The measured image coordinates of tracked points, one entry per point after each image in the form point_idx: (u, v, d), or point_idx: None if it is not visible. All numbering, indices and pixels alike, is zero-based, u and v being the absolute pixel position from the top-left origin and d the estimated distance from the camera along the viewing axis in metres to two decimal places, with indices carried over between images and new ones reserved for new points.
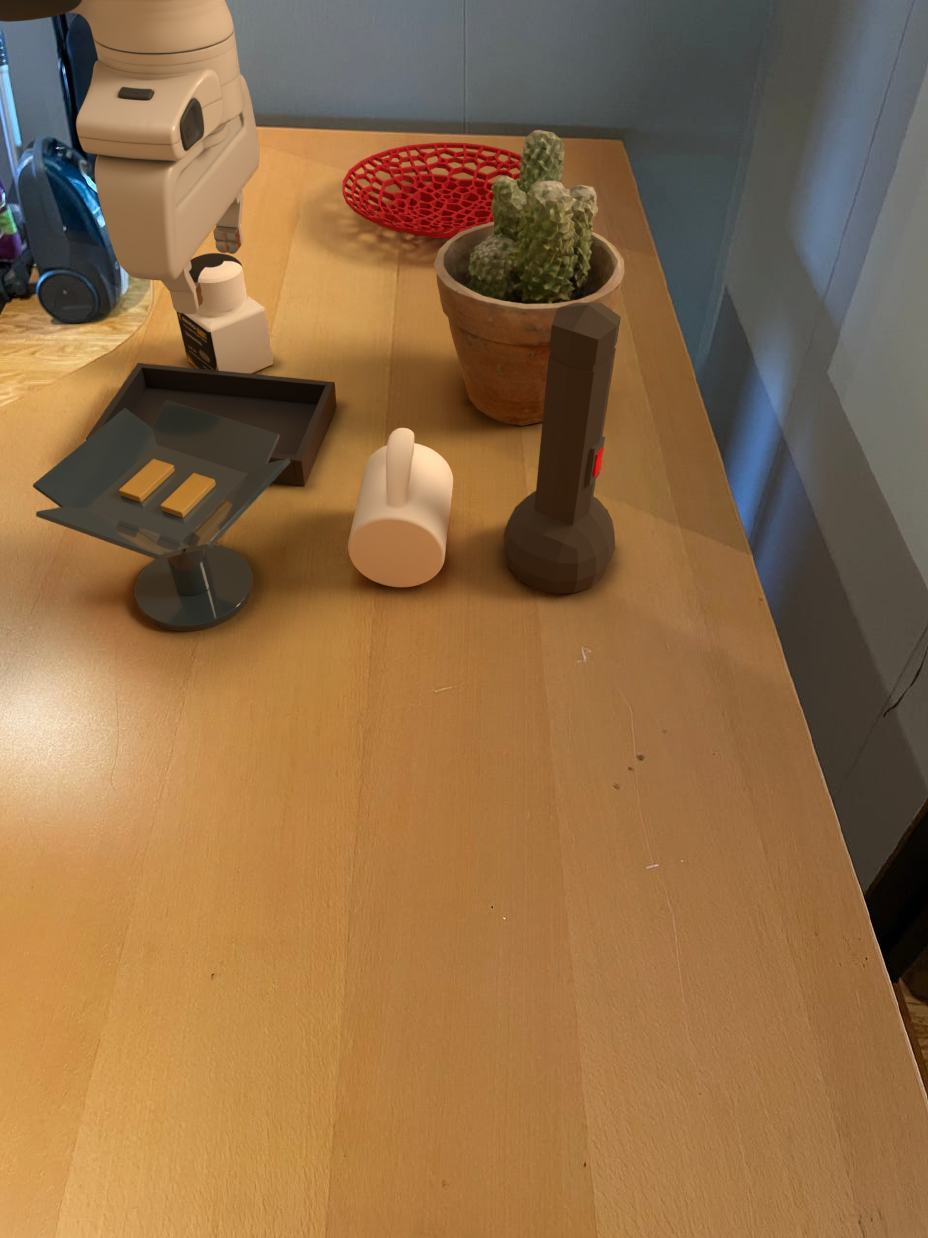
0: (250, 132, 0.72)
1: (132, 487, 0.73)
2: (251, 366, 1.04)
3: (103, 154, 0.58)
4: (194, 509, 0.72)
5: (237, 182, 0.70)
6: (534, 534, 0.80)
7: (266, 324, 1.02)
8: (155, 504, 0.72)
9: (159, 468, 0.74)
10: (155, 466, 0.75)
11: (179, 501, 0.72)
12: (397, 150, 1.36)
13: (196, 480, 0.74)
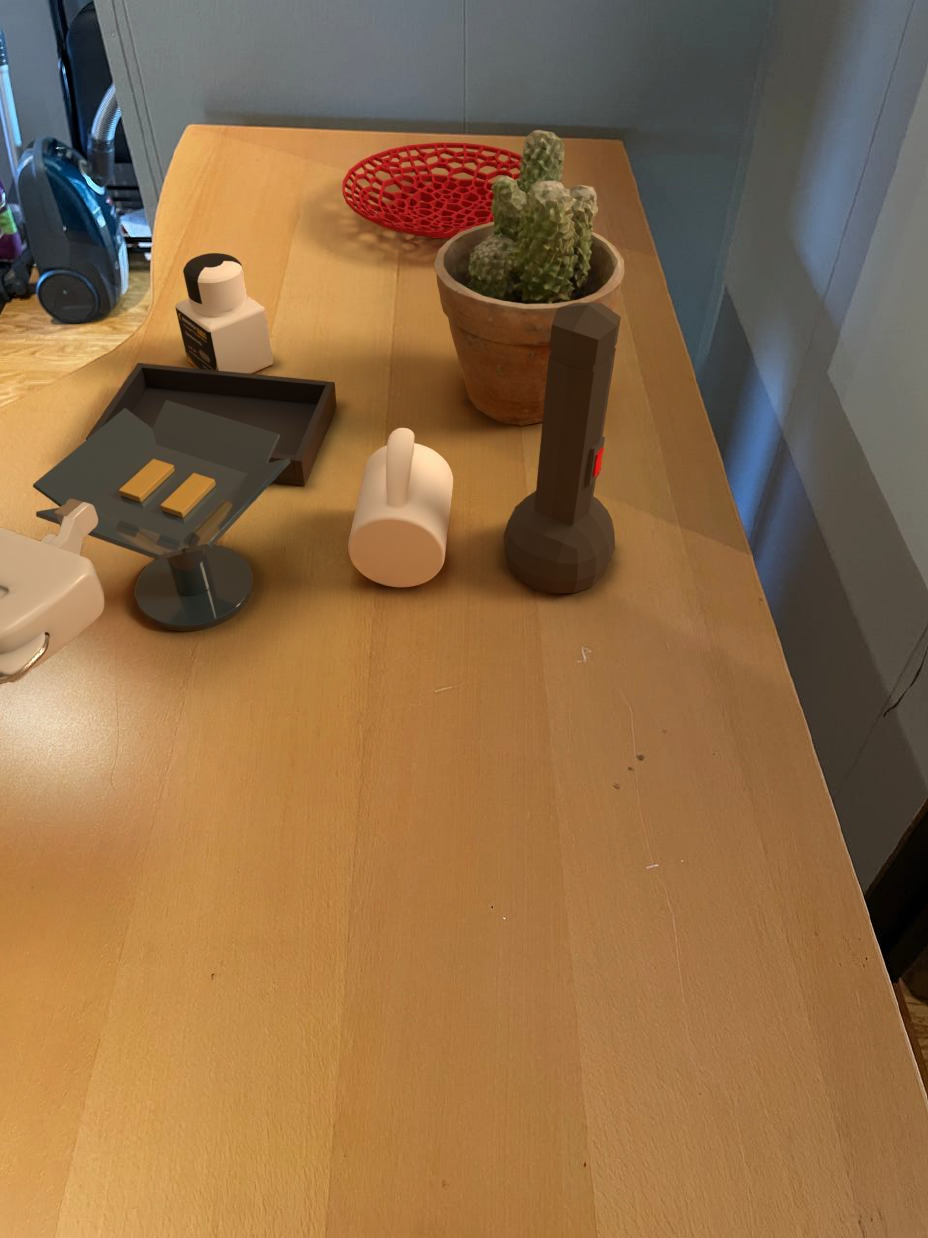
0: None
1: (132, 487, 0.73)
2: (251, 366, 1.04)
3: None
4: (194, 509, 0.72)
5: None
6: (534, 534, 0.80)
7: (266, 324, 1.02)
8: (155, 504, 0.72)
9: (159, 468, 0.74)
10: (155, 466, 0.75)
11: (179, 501, 0.72)
12: (397, 150, 1.36)
13: (196, 480, 0.74)
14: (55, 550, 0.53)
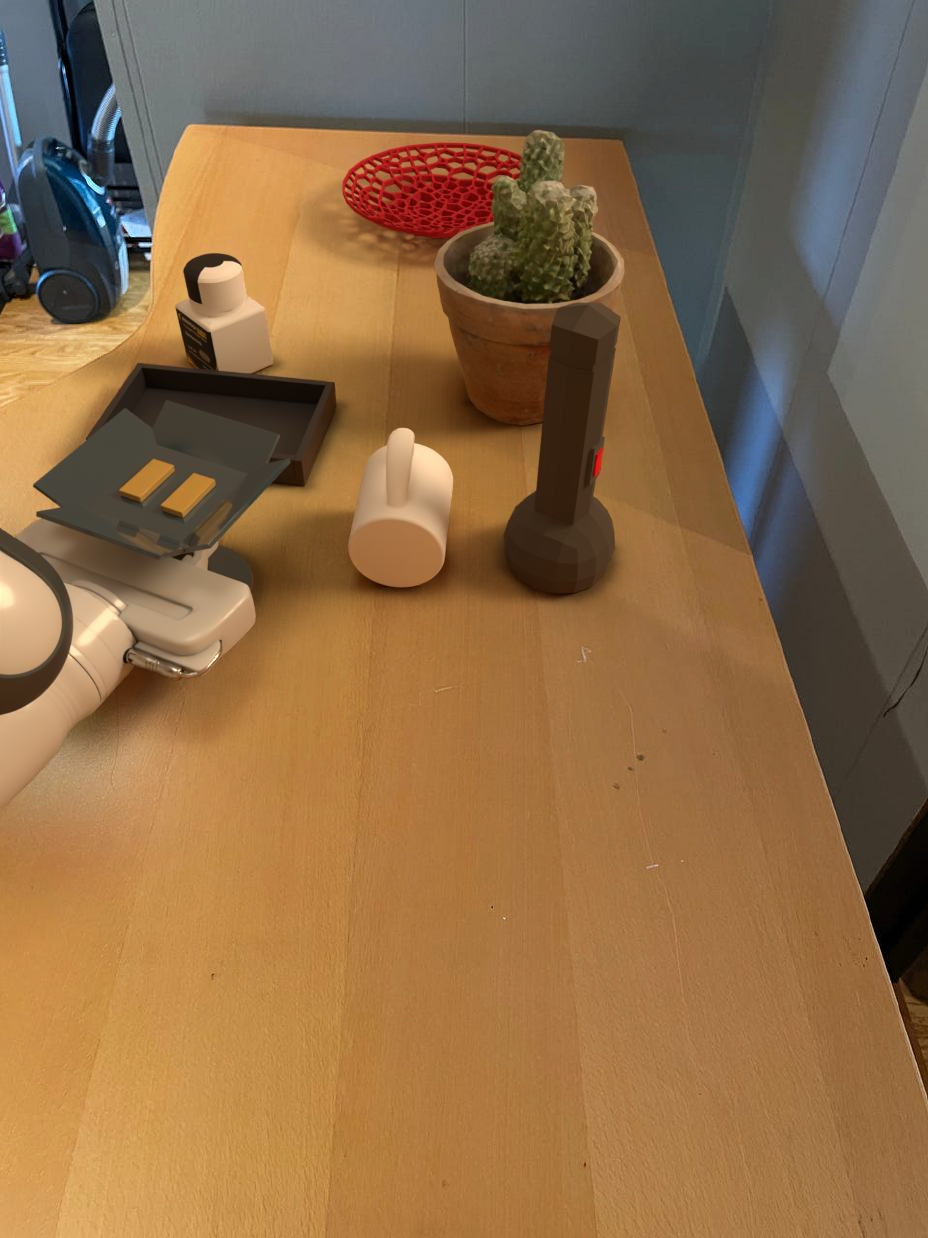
0: None
1: (132, 487, 0.73)
2: (251, 366, 1.04)
3: None
4: (194, 509, 0.72)
5: None
6: (534, 534, 0.80)
7: (266, 324, 1.02)
8: (155, 504, 0.72)
9: (159, 468, 0.74)
10: (155, 466, 0.75)
11: (179, 501, 0.72)
12: (397, 150, 1.36)
13: (196, 480, 0.74)
14: (221, 578, 0.71)
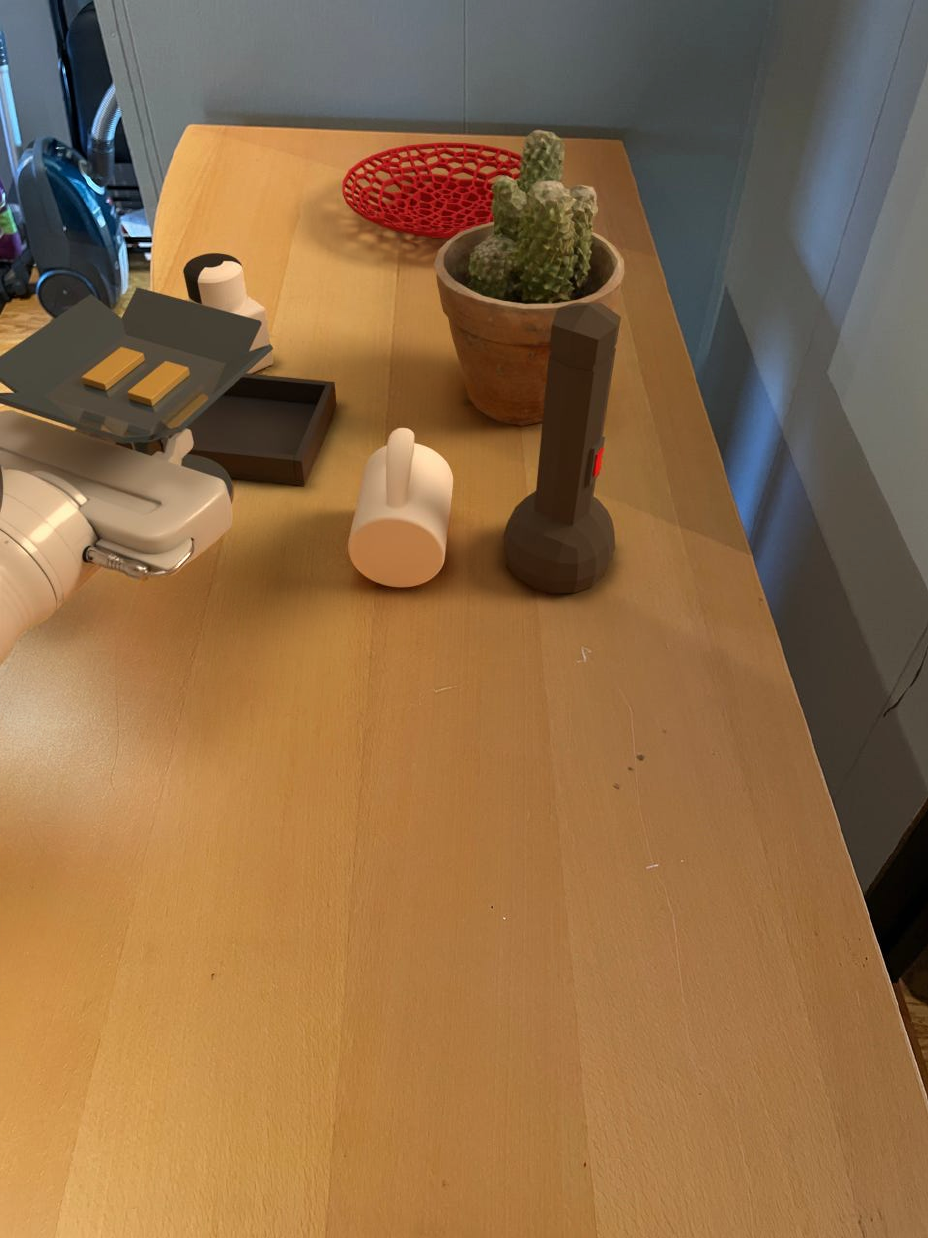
0: None
1: (96, 374, 0.66)
2: None
3: None
4: (165, 398, 0.65)
5: None
6: (534, 534, 0.80)
7: (266, 324, 1.02)
8: (122, 392, 0.65)
9: (127, 356, 0.67)
10: (123, 354, 0.67)
11: (148, 388, 0.65)
12: (397, 150, 1.36)
13: (168, 368, 0.66)
14: (195, 472, 0.64)
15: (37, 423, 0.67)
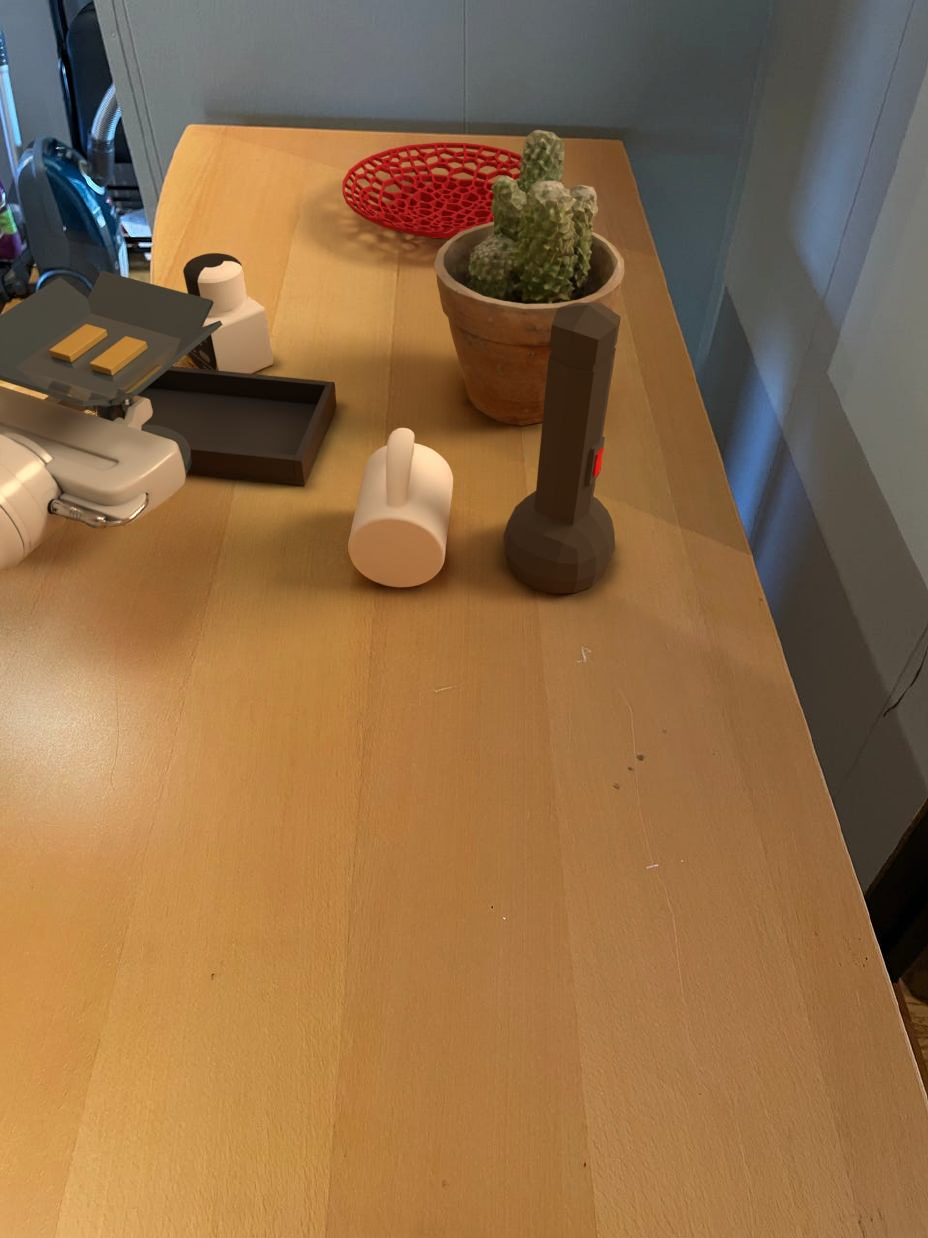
0: None
1: (62, 347, 0.73)
2: (251, 366, 1.04)
3: None
4: (124, 368, 0.72)
5: None
6: (534, 534, 0.80)
7: (266, 324, 1.02)
8: (85, 364, 0.72)
9: (91, 332, 0.74)
10: (87, 330, 0.74)
11: (108, 359, 0.72)
12: (397, 150, 1.36)
13: (127, 342, 0.73)
14: (150, 435, 0.71)
15: (10, 392, 0.74)
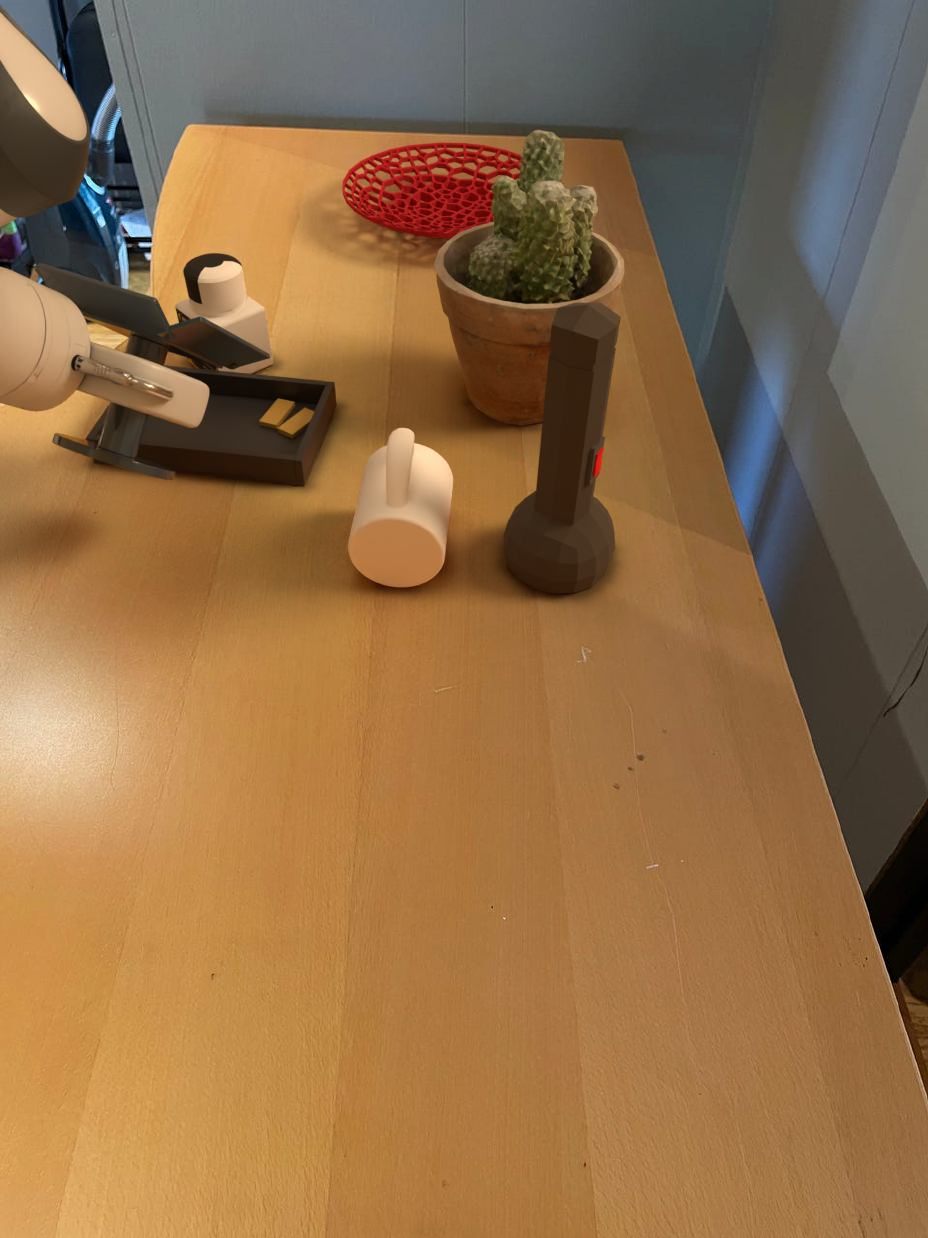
0: None
1: None
2: (251, 366, 1.04)
3: None
4: None
5: None
6: (534, 534, 0.80)
7: (266, 324, 1.02)
8: None
9: None
10: None
11: None
12: (397, 150, 1.36)
13: None
14: None
15: None
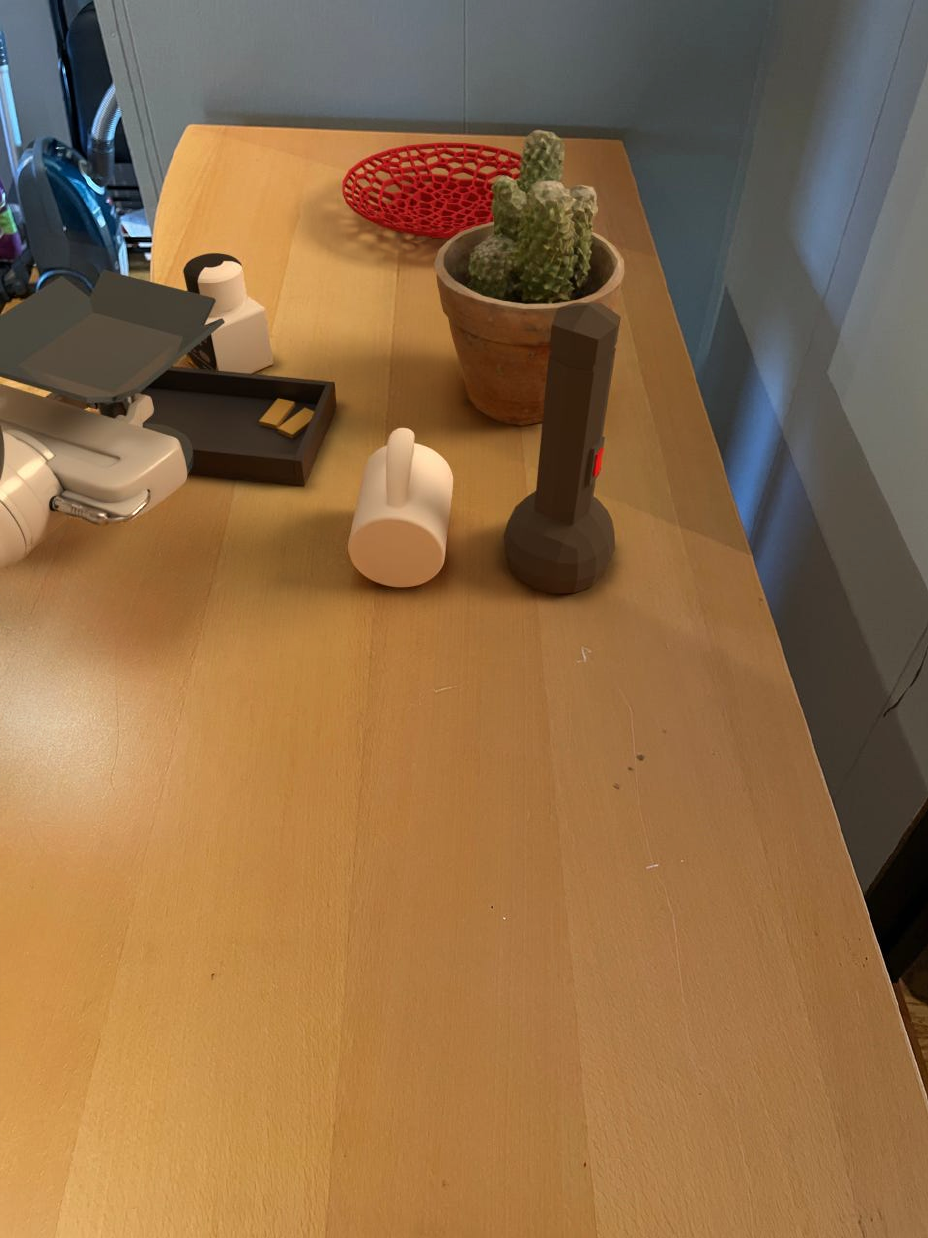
0: None
1: None
2: (251, 366, 1.04)
3: None
4: (127, 366, 0.72)
5: None
6: (534, 534, 0.80)
7: (266, 324, 1.02)
8: (88, 362, 0.72)
9: None
10: None
11: None
12: (397, 150, 1.36)
13: None
14: (152, 432, 0.71)
15: (11, 390, 0.74)
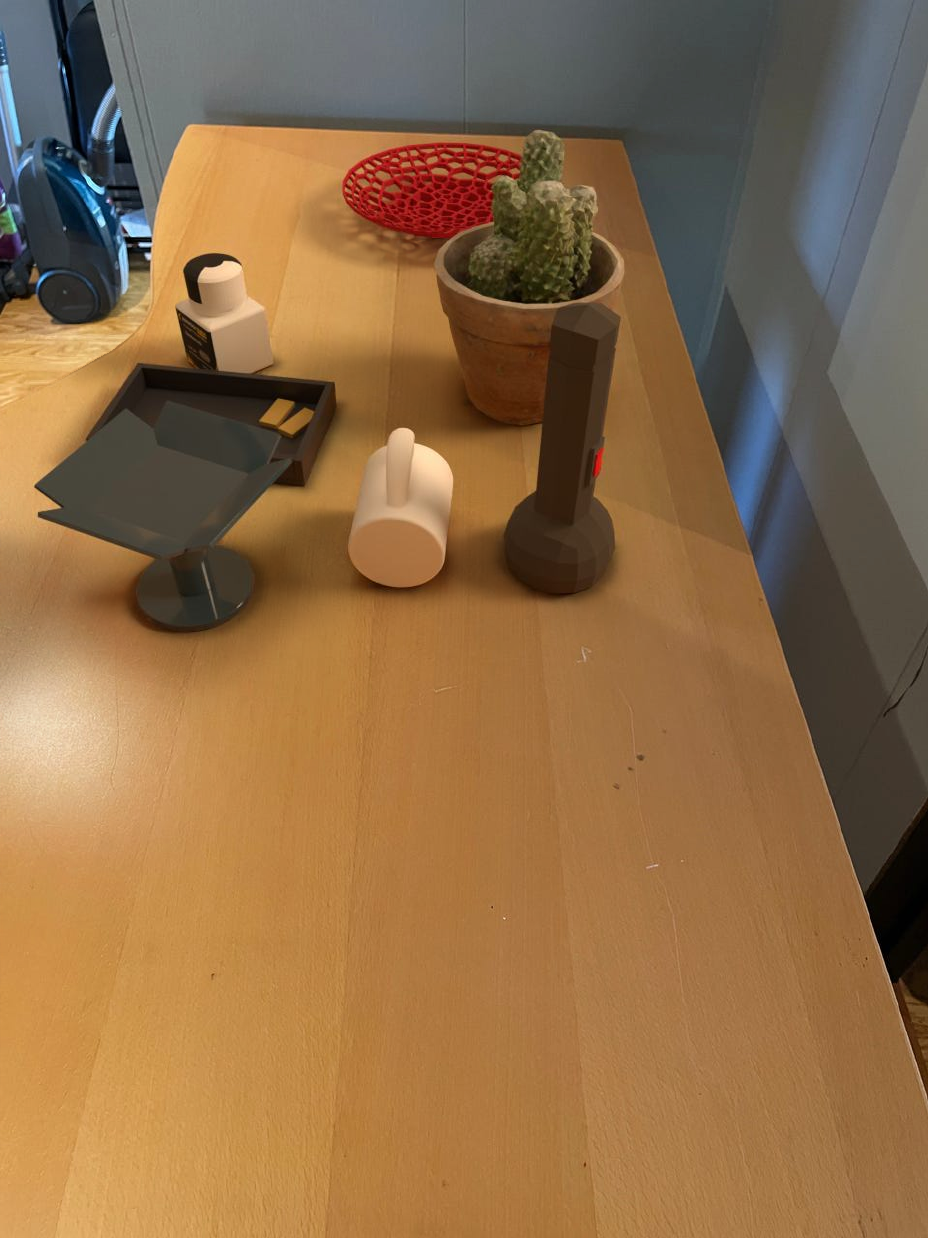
0: None
1: None
2: (251, 366, 1.04)
3: None
4: (196, 509, 0.72)
5: None
6: (534, 534, 0.80)
7: (266, 324, 1.02)
8: (156, 504, 0.72)
9: None
10: None
11: None
12: (397, 150, 1.36)
13: None
14: None
15: None
